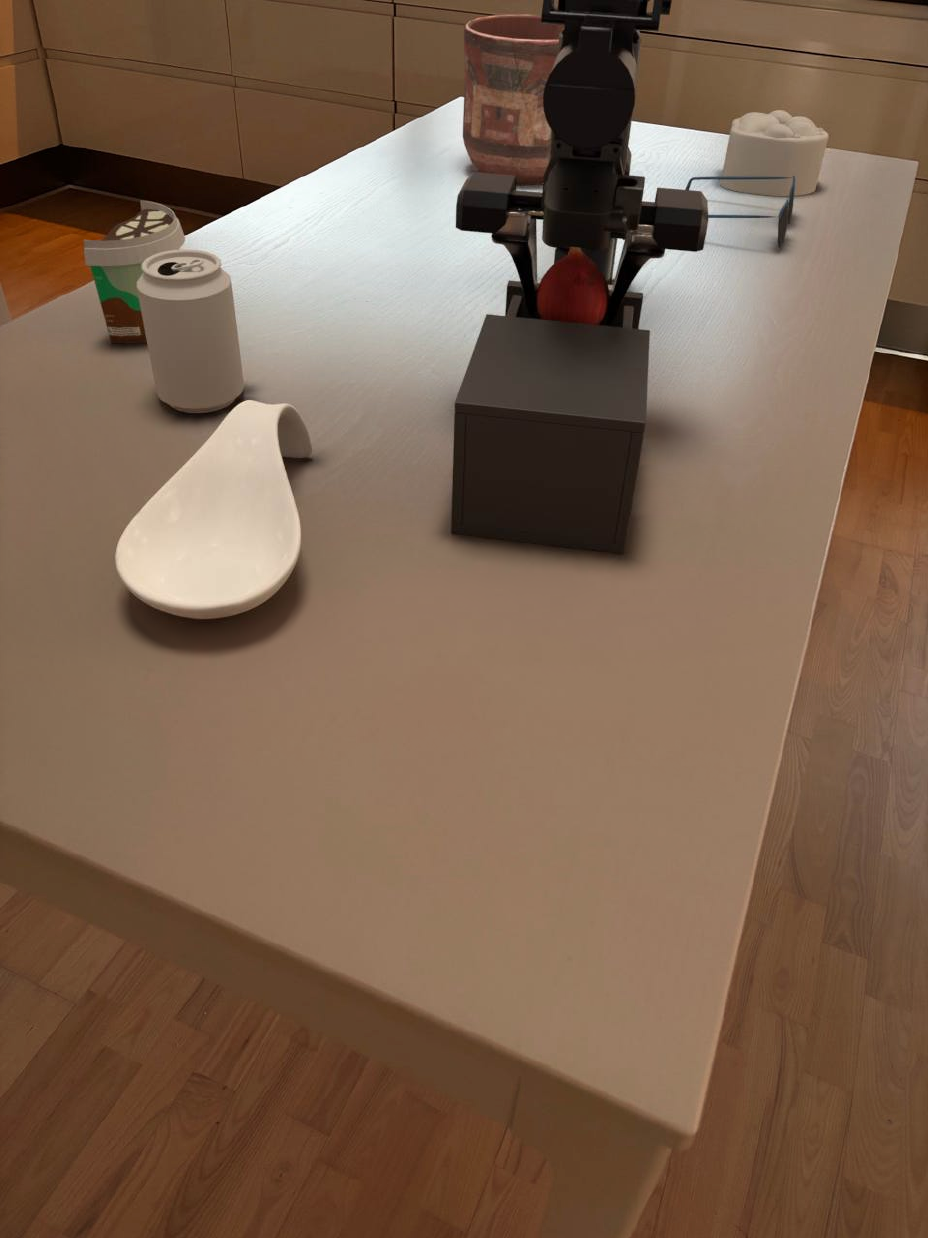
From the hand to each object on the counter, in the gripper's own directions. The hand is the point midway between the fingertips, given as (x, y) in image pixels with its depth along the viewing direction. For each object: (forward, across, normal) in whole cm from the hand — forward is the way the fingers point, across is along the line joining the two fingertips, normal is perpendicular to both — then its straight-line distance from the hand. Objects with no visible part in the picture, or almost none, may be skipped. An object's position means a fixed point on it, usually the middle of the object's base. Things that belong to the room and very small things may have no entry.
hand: (570, 318), depth 81 cm
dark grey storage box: (+9, 0, -13) cm, 15 cm away
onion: (+2, 0, 0) cm, 2 cm away
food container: (+9, -40, +9) cm, 42 cm away
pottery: (+9, -11, +69) cm, 70 cm away
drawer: (+8, 0, 0) cm, 8 cm away
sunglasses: (+9, +17, +54) cm, 57 cm away
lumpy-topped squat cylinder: (+9, +23, +73) cm, 77 cm away
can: (+9, -31, -4) cm, 33 cm away
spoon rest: (+9, -21, -24) cm, 33 cm away
